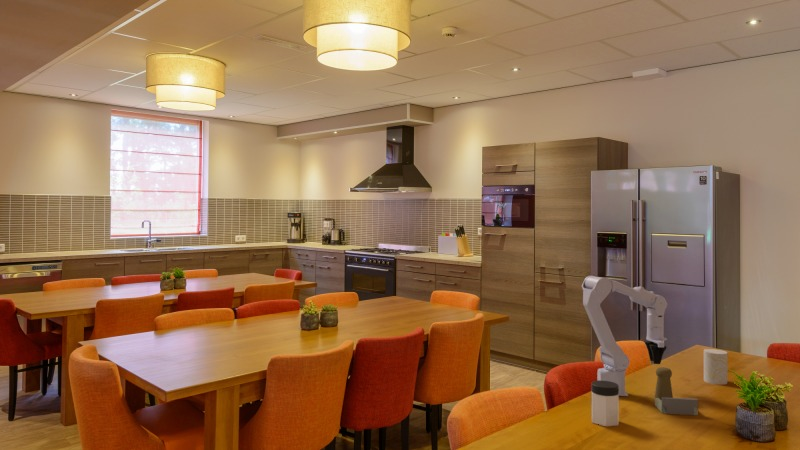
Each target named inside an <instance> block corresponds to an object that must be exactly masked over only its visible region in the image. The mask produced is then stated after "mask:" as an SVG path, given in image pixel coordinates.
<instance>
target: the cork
mask: <svg viewBox="0 0 800 450" xmlns="http://www.w3.org/2000/svg"><path fill="white" fill-rule="evenodd" d="M655 375H656V376H657V378H656V379H657V380H656V384H655V385H656V386H655V392H654V399H655V398H659V399H660V400H661V401H662V397H668V398H674V396H673V389H672V383H671V378H672V375H673V372H672V370H671V369H670V368H668V367H665V366H661V367H657V368H656V369H655Z"/></svg>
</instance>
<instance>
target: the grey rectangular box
mask: <svg viewBox="0 0 800 450" xmlns="http://www.w3.org/2000/svg"><path fill="white" fill-rule="evenodd" d="M698 405H699V400H698V398H686V397H673V398H668V397H662V401H661V400H660V399H659V398H655V397H654V406H655V407H656V408H657V409H658V410H659V411H660V412H661V413H662V414H666V415H685V416H686V415H688V416H689V415H690V416H698V415H699V414H698V413H699V412H698V411H699V410H698V409H699V406H698Z"/></svg>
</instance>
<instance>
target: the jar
mask: <svg viewBox="0 0 800 450" xmlns="http://www.w3.org/2000/svg"><path fill="white" fill-rule="evenodd" d="M590 385H591V387H590V389H591V392H590V393H591V395H590V396H591V397H590V398H591V402H590V404H591V407H590V408H591V415H590V416H591V422H592V423H593V424H596V425H598V424H599V426H602V427H605V426H606V427H614V426H619V424H620V423H619V422H620V420H619V415H620V408H619V403H620V402H619V401H620V398H619V397H620V396H619V395H618V393H619V386H618V384H616V383H614V382H610V381H597V380H593V381H592V382H591V384H590Z"/></svg>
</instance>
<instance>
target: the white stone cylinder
mask: <svg viewBox="0 0 800 450" xmlns="http://www.w3.org/2000/svg"><path fill="white" fill-rule="evenodd" d="M703 381H704V382H705V383H707V384H711V385H719V386H720V385H723V386H724V385H727V384H728V351H725V350H722V349H715V348H705V349H703Z"/></svg>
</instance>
